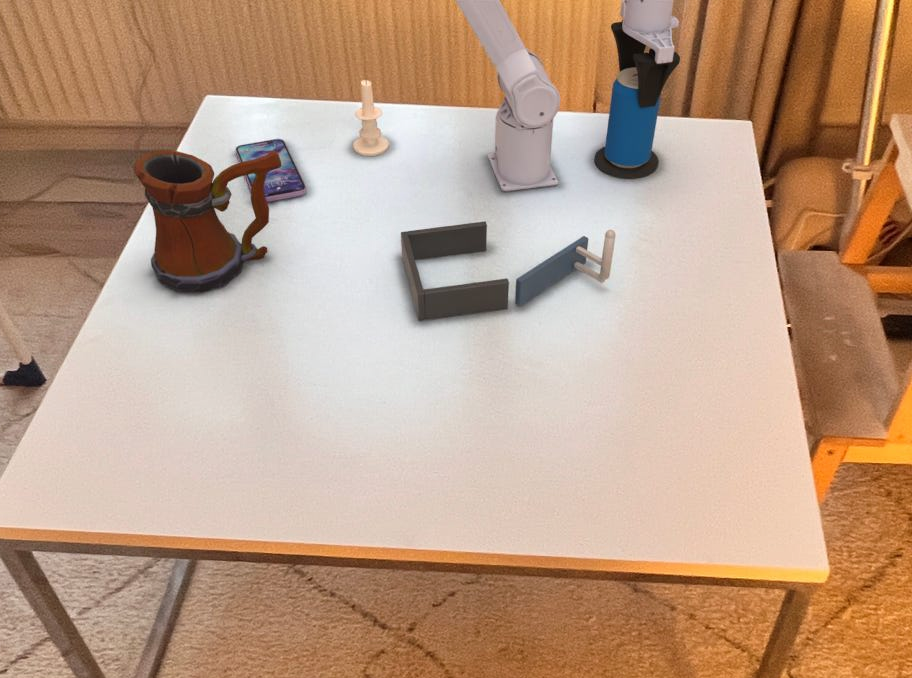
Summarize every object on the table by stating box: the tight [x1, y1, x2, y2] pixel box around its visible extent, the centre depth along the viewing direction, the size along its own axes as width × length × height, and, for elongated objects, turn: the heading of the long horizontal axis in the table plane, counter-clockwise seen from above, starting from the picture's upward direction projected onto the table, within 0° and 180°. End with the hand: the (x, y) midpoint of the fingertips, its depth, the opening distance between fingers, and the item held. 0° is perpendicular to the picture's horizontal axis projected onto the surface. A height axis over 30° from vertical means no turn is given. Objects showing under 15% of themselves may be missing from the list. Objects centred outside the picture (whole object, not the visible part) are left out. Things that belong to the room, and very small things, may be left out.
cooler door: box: [514, 229, 617, 307], centre depth 109 cm, size 6×12×8 cm, turn 133°
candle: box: [352, 79, 390, 157], centre depth 132 cm, size 5×5×10 cm
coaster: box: [593, 146, 659, 180], centre depth 132 cm, size 9×9×1 cm
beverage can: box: [604, 67, 662, 168], centre depth 127 cm, size 6×6×12 cm
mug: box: [132, 150, 281, 293], centre depth 112 cm, size 18×12×15 cm, turn 102°
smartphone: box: [235, 138, 307, 203], centre depth 131 cm, size 7×1×15 cm
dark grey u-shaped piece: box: [400, 221, 510, 322], centre depth 113 cm, size 11×13×4 cm
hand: (637, 91), depth 124 cm, fingers open, 7 cm apart
